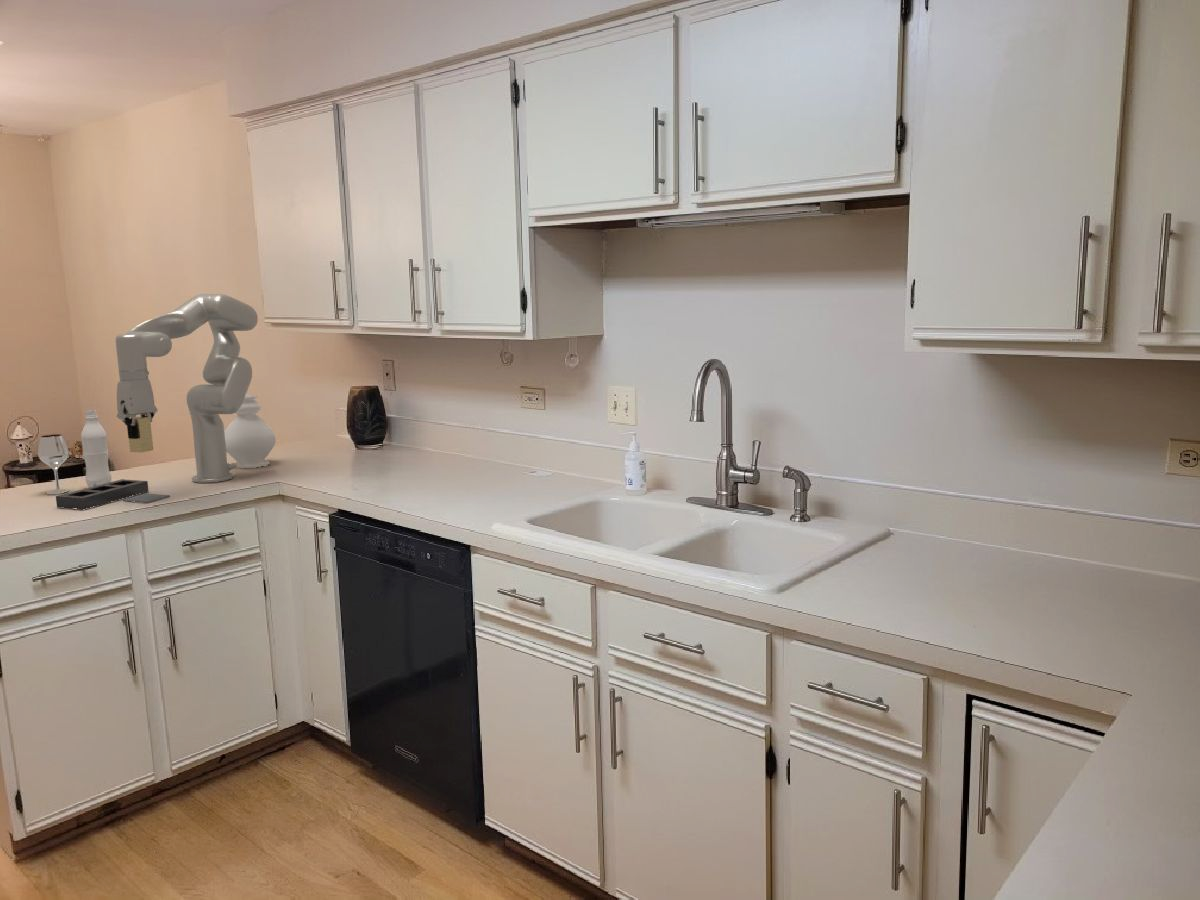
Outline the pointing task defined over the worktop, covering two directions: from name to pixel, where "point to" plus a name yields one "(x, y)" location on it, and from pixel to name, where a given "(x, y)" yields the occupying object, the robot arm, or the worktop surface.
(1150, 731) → the worktop surface
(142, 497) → the grey rubber mat
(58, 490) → the wineglass
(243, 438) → the decorative vase
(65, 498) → the dark grey compartment tray
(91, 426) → the water bottle
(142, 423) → the brass peg
